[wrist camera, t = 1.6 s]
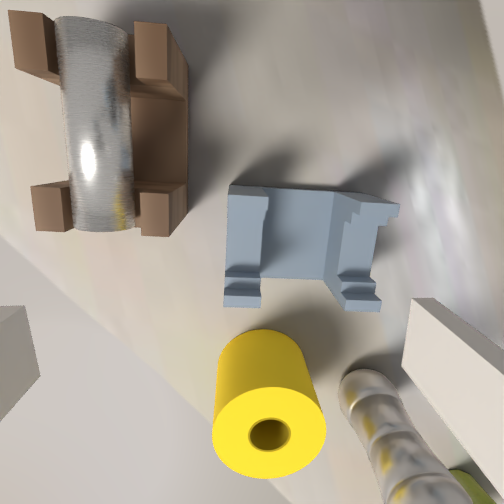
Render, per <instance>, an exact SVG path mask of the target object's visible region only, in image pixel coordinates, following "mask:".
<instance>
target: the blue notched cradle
mask: <svg viewBox="0 0 504 504" xmlns="http://www.w3.org/2000/svg"><path fill="white" fill-rule="evenodd" d="M227 208H228V213H227V218H228V220H227V244H226V269H225V287H224V305H223V307H241V308H260V307H261V293H260V281H261V278H287V279H312V280H323V281H324V282H325V284H326V285H327V287H328V288H329V289H330V291H331V292H332V294H333V295H334V297H335V298H336V299H337V301H338V302H339V304H340V305H341V307H342V308H343V309H344V311H360V312H380V308H381V303H382V301H381V300H380V299H379V298H378V297H377V296H376V295H375V294H374V293H375V288H376V282H375V281H374V280H372V279H371V278H370V271H371V265H372V260H373V254H374V248H375V242H376V237H377V231H378V226H387V222H388V217H398V213H399V208H400V204H397V203H394V202H391V201H387V200H384V199H381V198H378V197H374V196H371V195H368V194H364V193H360V192H343V191H326V190H309V189H291V188H274V187H257V186H239V185H230V186H229V192H228V206H227ZM260 277H261V278H260Z"/></svg>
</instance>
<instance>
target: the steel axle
mask: <svg viewBox="0 0 504 504" xmlns="http://www.w3.org/2000/svg"><path fill="white" fill-rule="evenodd" d="M54 26H55V36H56V47H57V58H58V68H59V79H60V89H61V100H62V111H63V121H64V132H65V142H66V153H67V164H68V174H69V185H70V195H71V206H72V217H73V227H74V228H75V229H78V230H82V231H90V232H112V231H121V230H127V229H131V228H133V227H135V226H136V222H135V197H134V172H133V146H132V121H131V96H130V71H129V45H128V34H127V33H126V32H125V31H124V30H122V29H121V28H119V27H117V26H114V25H112V24H109V23H106V22H103V21H99V20H95V19H90V18H84V17H75V16H64V17H59V18H56V19H55V20H54Z"/></svg>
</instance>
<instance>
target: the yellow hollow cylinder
mask: <svg viewBox="0 0 504 504" xmlns="http://www.w3.org/2000/svg"><path fill="white" fill-rule="evenodd" d="M325 437H326V423H325V419H324V416H323V413H322V410H321V407H320V404H319V401H318V398H317V395H316V392H315V390H314V387H313V384H312V381H311V378H310V375H309V372H308V369H307V366H306V363H305V360H304V357H303V354H302V352H301V350H300V348H299V346H298V345H297V344H296V343H295V342H294V341H293V340H292V339H291V338H290V337H288V336H287V335H285V334H283V333H280V332H278V331H274V330H268V329H258V330H252V331H248V332H245V333H243V334H241V335H239V336H237V337H235V338H234V339H233V340H231V341H230V342H229V343H228V344H227V345H226V347H225V348H224V349H223V351H222V353H221V355H220V357H219V361H218V369H217V381H216V394H215V406H214V419H213V432H212V440H213V445H214V448H215V451H216V453H217V455H218V456H219V458H220V459H221V460H222V461H223V463H224V464H226V465H227V466H228V467H229V468H231V469H232V470H234V471H236V472H238V473H240V474H243V475H245V476H248V477H253V478H262V479H269V478H278V477H283V476H286V475H289V474H292V473H294V472H296V471H298V470H300V469H302V468H303V467H305V466H306V465H308V464H309V463H310V462H311V461H312V460H313V459H314V458H315V457H316V456H317V454H318V453H319V452H320V450H321V448H322V446H323V444H324V441H325Z"/></svg>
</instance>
